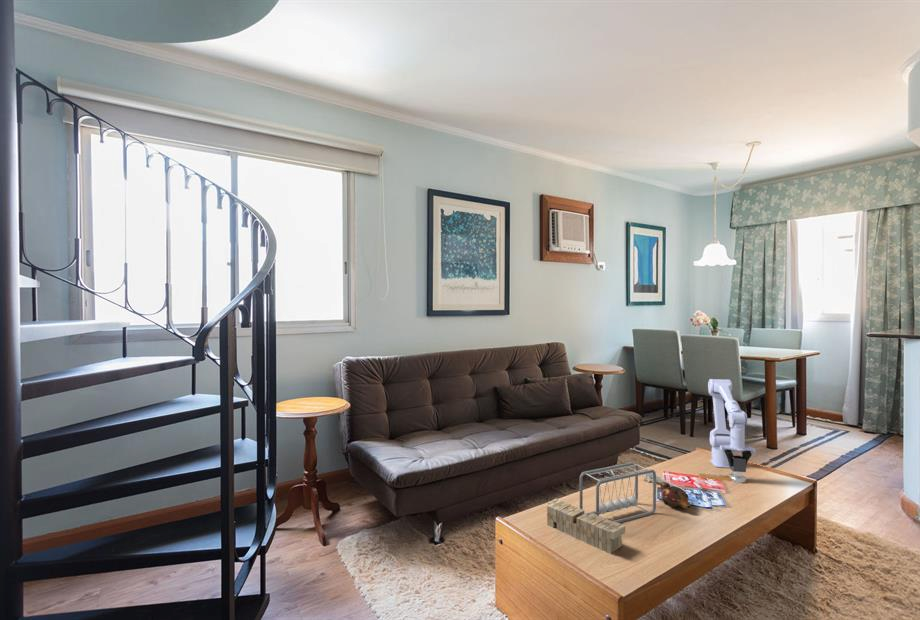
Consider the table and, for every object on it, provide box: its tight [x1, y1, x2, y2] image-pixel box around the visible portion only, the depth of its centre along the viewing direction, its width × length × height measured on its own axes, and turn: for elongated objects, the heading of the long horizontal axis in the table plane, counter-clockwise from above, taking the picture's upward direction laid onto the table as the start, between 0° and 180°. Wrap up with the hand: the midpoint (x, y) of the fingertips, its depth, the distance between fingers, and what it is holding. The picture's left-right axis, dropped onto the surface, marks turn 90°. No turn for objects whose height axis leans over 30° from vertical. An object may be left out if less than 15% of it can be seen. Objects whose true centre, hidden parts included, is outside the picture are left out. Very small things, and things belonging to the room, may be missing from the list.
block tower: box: [546, 498, 626, 555], centre depth 161 cm, size 8×8×29 cm
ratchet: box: [697, 470, 747, 484], centre depth 210 cm, size 20×7×5 cm, turn 78°
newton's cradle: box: [579, 461, 657, 524], centre depth 175 cm, size 30×10×18 cm, turn 114°
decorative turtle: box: [659, 482, 692, 510], centre depth 183 cm, size 10×15×8 cm, turn 23°
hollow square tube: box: [729, 454, 747, 473], centre depth 209 cm, size 5×5×6 cm
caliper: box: [643, 470, 688, 492], centre depth 201 cm, size 20×1×6 cm, turn 41°
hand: (737, 466), depth 209 cm, fingers closed on hollow square tube, 5 cm apart
